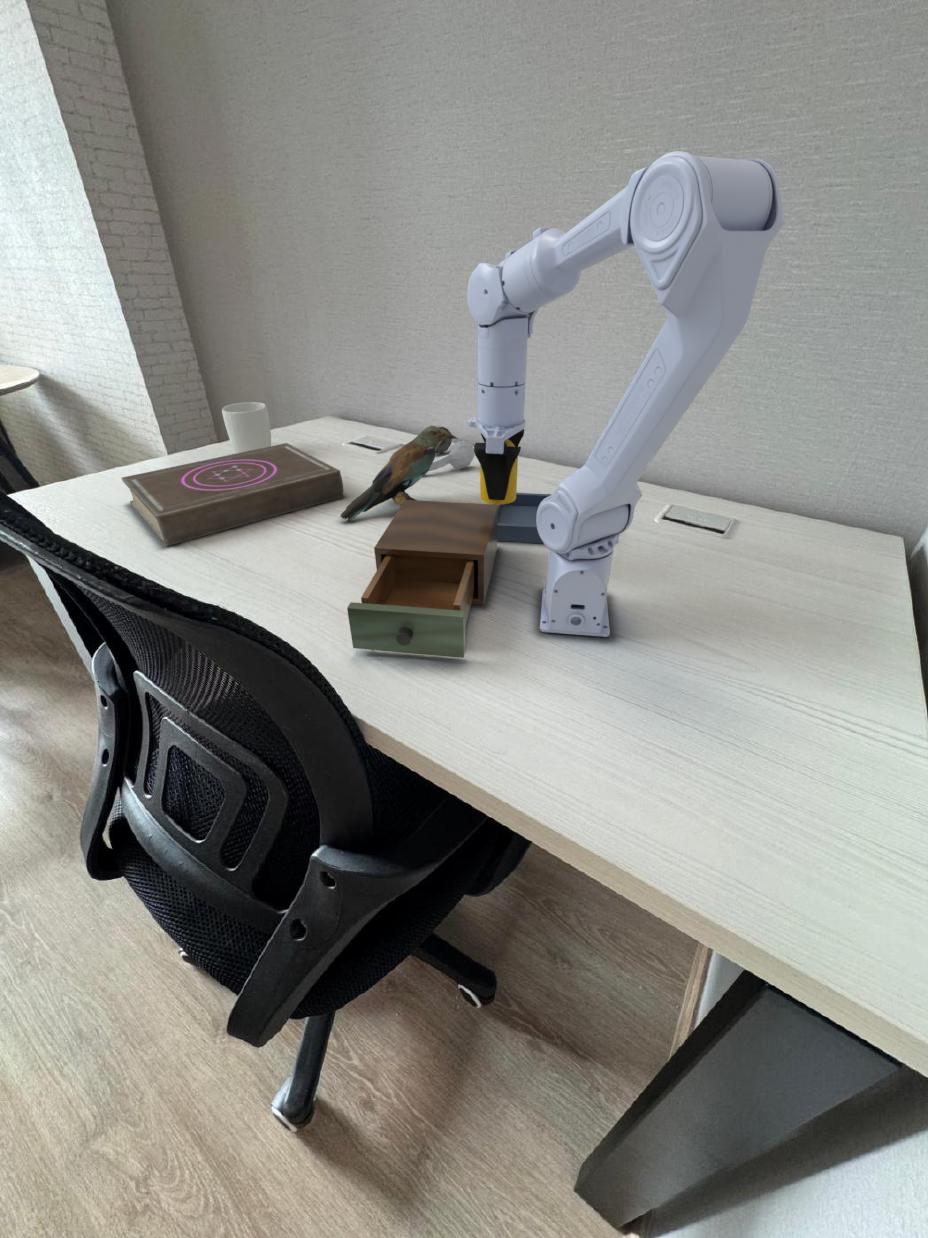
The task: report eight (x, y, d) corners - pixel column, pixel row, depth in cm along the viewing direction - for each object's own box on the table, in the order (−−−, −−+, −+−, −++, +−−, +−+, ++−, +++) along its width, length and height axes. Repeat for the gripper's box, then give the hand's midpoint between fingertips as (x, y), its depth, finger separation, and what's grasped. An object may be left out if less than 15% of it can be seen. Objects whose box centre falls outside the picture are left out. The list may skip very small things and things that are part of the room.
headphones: (467, 441, 125) (384, 468, 120) (463, 415, 122) (377, 442, 117) (504, 463, 112) (412, 495, 107) (501, 435, 109) (406, 467, 104)
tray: (592, 546, 84) (594, 530, 83) (488, 540, 86) (488, 524, 85) (589, 510, 95) (591, 495, 94) (498, 506, 97) (498, 491, 96)
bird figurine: (352, 530, 88) (403, 407, 83) (330, 510, 95) (375, 395, 90) (420, 552, 96) (469, 441, 92) (394, 533, 103) (439, 429, 99)
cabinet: (483, 605, 71) (484, 554, 67) (379, 597, 73) (373, 547, 69) (497, 549, 83) (498, 504, 80) (408, 544, 85) (404, 499, 81)
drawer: (462, 665, 59) (461, 623, 56) (349, 654, 61) (343, 614, 58) (481, 589, 72) (481, 552, 69) (388, 582, 74) (384, 546, 71)
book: (291, 467, 116) (287, 442, 113) (345, 497, 101) (341, 470, 98) (131, 504, 100) (121, 477, 97) (167, 547, 85) (156, 516, 82)
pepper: (514, 505, 73) (517, 435, 68) (478, 503, 74) (478, 434, 68) (517, 491, 77) (520, 424, 72) (482, 490, 77) (483, 423, 72)
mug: (281, 455, 122) (272, 407, 116) (240, 464, 118) (228, 414, 112) (261, 442, 130) (251, 396, 125) (222, 449, 126) (210, 403, 121)
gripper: (476, 370, 74) (476, 471, 81) (459, 395, 62) (460, 511, 69) (530, 371, 73) (525, 473, 80) (523, 396, 61) (518, 513, 68)
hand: (498, 491), depth 75 cm, fingers closed on pepper, 5 cm apart
